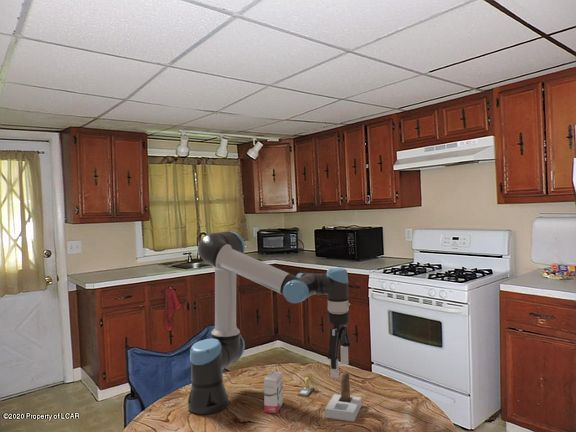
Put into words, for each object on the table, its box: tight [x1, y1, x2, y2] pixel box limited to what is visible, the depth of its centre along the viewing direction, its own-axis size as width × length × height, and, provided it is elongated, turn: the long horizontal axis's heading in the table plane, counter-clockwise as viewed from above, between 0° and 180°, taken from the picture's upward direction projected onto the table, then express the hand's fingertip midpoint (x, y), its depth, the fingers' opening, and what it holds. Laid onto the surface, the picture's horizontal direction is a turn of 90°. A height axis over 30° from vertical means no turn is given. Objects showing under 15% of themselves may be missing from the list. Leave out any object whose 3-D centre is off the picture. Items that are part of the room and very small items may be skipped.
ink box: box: [263, 370, 284, 414], centre depth 151 cm, size 9×5×12 cm, turn 165°
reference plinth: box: [297, 376, 315, 397], centre depth 164 cm, size 4×8×5 cm, turn 158°
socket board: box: [324, 393, 363, 422], centre depth 146 cm, size 10×12×3 cm
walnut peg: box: [339, 372, 351, 403], centre depth 148 cm, size 3×3×12 cm
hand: (339, 370), depth 149 cm, fingers open, 13 cm apart
